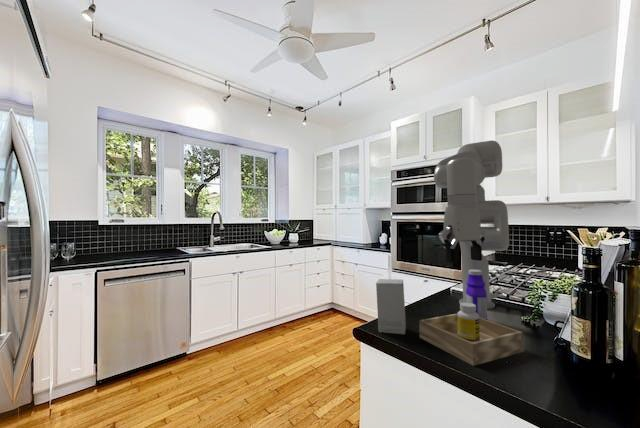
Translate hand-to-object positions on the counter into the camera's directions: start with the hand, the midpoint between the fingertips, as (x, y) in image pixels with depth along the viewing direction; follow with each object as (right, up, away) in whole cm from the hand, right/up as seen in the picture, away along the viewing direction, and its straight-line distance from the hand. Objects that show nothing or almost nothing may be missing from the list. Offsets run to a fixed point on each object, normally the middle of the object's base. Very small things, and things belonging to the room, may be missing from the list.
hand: (464, 261), depth 80 cm
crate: (0, -23, -3) cm, 23 cm away
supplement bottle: (0, -22, -2) cm, 22 cm away
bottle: (+12, -23, +14) cm, 29 cm away
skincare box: (-19, -23, +8) cm, 31 cm away
